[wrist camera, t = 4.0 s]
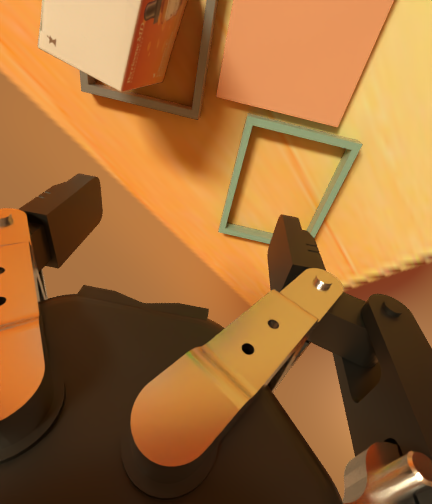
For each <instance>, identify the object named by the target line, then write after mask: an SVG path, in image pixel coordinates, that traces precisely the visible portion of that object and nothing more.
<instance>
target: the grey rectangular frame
mask: <svg viewBox="0 0 432 504" xmlns="http://www.w3.org/2000/svg"><path fill="white" fill-rule="evenodd" d="M217 4H218V0H207V1H206V8H205V16H204V23H203V30H202V38H201V45H200V53H199V60H198V67H197V75H196V82H195V90H194V97H193V104H192V107H190V106H186V105H182V104H178V103H173V102H169V101H165V100H161V99H157V98H153V97H149V96H145V95H141V94H137V93H133V92H129V91H124V92H120V91H118V90H116V89H114V88H112V87H109V86H105V85H101V84H97V83H95V78H94V77H92V76H90V75H88V74H86V73H84V72H82V71H81V70H80V80H81V91H83V92H87V93H91V94H95V95H99V96H103V97H107V98H111V99H115V100H120V101H124V102H128V103H132V104H136V105H140V106H144V107H148V108H152V109H156V110H160V111H164V112H168V113H172V114H176V115H180V116H184V117H188V118H192V119H196V120H198V119H199V118H200V114H201V108H202V101H203V95H204V88H205V82H206V75H207V69H208V62H209V56H210V49H211V43H212V36H213V30H214V23H215V17H216V10H217Z"/></svg>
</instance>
